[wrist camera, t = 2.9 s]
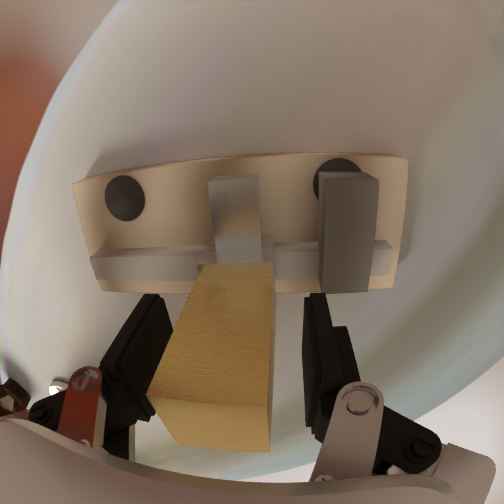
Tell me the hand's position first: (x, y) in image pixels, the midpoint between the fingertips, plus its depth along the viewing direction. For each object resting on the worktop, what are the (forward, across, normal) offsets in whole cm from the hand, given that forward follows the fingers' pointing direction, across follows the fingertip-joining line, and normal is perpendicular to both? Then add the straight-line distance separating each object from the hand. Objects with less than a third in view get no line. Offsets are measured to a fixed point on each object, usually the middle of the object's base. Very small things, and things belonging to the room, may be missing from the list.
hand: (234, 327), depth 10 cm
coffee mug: (+8, +52, +29) cm, 60 cm away
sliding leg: (+6, 0, -1) cm, 6 cm away
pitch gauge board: (+7, +1, -2) cm, 8 cm away
